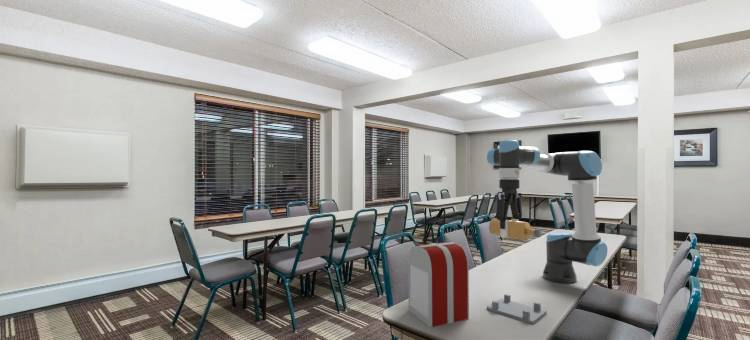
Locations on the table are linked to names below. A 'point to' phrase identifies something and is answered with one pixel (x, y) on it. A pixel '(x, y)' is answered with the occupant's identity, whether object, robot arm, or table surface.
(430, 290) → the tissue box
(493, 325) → the table surface
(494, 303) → the u rest
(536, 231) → the amber bottle
